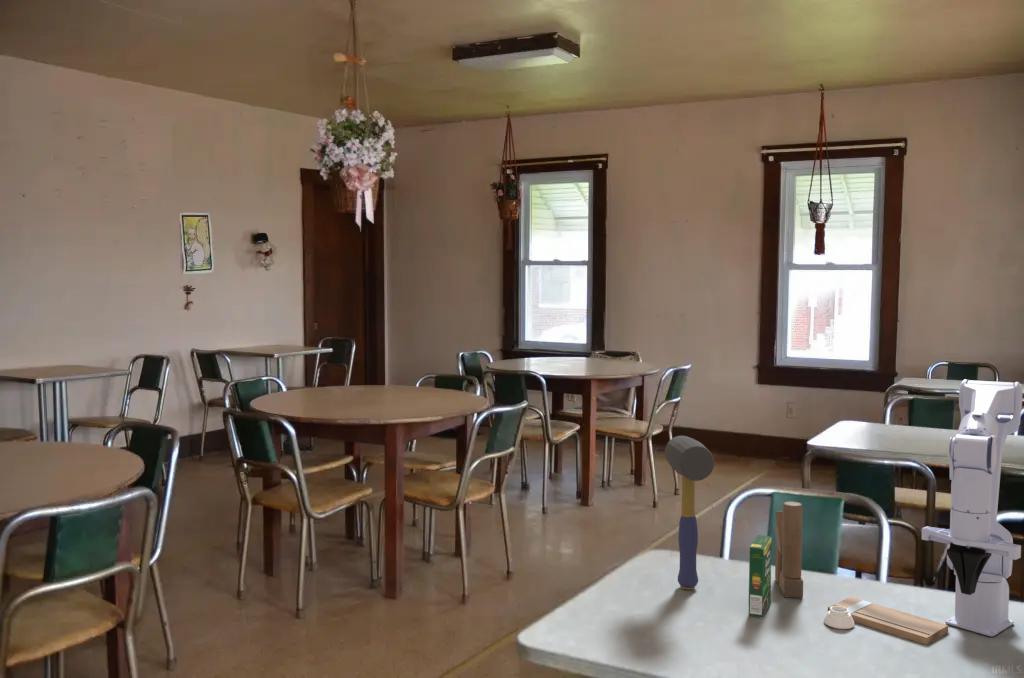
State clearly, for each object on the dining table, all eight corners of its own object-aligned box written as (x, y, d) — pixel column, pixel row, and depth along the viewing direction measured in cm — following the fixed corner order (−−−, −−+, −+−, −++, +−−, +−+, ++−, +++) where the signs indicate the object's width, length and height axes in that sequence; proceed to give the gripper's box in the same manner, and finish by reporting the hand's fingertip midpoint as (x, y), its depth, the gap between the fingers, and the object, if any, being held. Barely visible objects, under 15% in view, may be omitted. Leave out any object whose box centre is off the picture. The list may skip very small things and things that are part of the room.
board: (850, 602, 164) (850, 596, 164) (948, 632, 150) (948, 624, 150) (827, 613, 159) (827, 606, 159) (926, 644, 145) (926, 637, 145)
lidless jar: (823, 618, 157) (824, 629, 152) (824, 602, 157) (824, 612, 152) (853, 621, 155) (855, 632, 150) (853, 605, 155) (855, 615, 150)
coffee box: (763, 619, 156) (764, 547, 155) (747, 616, 157) (748, 545, 157) (771, 604, 163) (772, 535, 162) (756, 601, 165) (757, 534, 164)
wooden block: (793, 579, 177) (794, 492, 176) (803, 598, 166) (804, 506, 165) (774, 579, 177) (775, 492, 176) (783, 598, 167) (784, 505, 165)
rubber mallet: (661, 578, 178) (662, 433, 176) (697, 577, 179) (698, 432, 177) (677, 600, 166) (678, 445, 164) (716, 598, 166) (717, 444, 164)
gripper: (913, 504, 142) (911, 586, 143) (1009, 522, 131) (1006, 611, 132) (933, 498, 147) (931, 577, 147) (1027, 515, 135) (1024, 600, 136)
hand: (967, 592), depth 140 cm, fingers closed
